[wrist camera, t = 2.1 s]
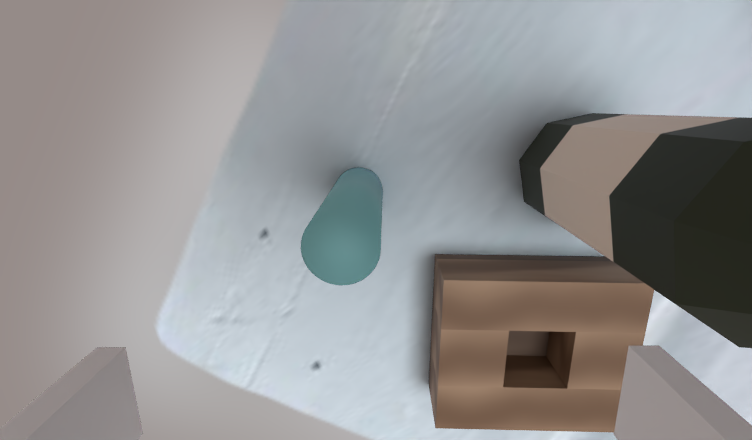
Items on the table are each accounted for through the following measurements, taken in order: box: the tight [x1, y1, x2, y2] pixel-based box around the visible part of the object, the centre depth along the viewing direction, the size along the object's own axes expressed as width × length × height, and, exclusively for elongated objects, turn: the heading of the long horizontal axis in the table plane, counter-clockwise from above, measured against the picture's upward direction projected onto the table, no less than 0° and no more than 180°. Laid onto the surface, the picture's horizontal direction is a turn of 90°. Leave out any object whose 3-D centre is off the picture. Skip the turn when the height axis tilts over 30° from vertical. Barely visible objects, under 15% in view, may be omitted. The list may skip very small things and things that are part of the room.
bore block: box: [429, 254, 654, 432], centre depth 31 cm, size 12×14×5 cm
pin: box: [301, 168, 383, 285], centre depth 25 cm, size 4×4×13 cm
